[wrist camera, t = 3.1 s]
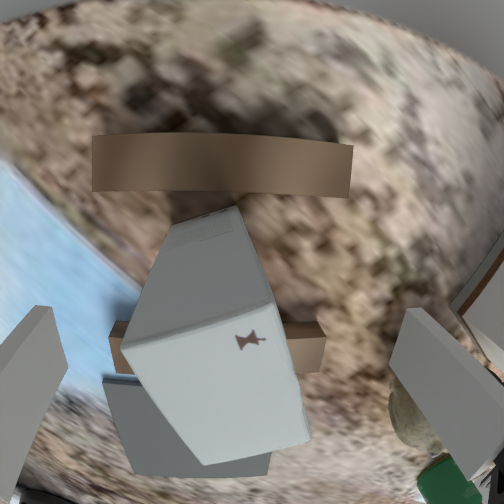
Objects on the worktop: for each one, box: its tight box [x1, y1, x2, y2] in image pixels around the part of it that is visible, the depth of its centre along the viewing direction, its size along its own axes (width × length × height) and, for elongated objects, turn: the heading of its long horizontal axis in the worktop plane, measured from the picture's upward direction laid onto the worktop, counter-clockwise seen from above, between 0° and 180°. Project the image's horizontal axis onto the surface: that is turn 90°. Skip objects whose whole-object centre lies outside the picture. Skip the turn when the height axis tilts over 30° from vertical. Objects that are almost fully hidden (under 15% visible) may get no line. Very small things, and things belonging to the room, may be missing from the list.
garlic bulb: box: [388, 377, 449, 458], centre depth 21 cm, size 10×8×10 cm
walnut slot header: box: [92, 133, 353, 375], centre depth 18 cm, size 14×15×2 cm
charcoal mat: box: [102, 379, 271, 478], centre depth 24 cm, size 14×14×1 cm
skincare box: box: [120, 205, 312, 466], centre depth 14 cm, size 6×4×12 cm
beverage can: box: [417, 456, 482, 504], centre depth 30 cm, size 8×8×12 cm
